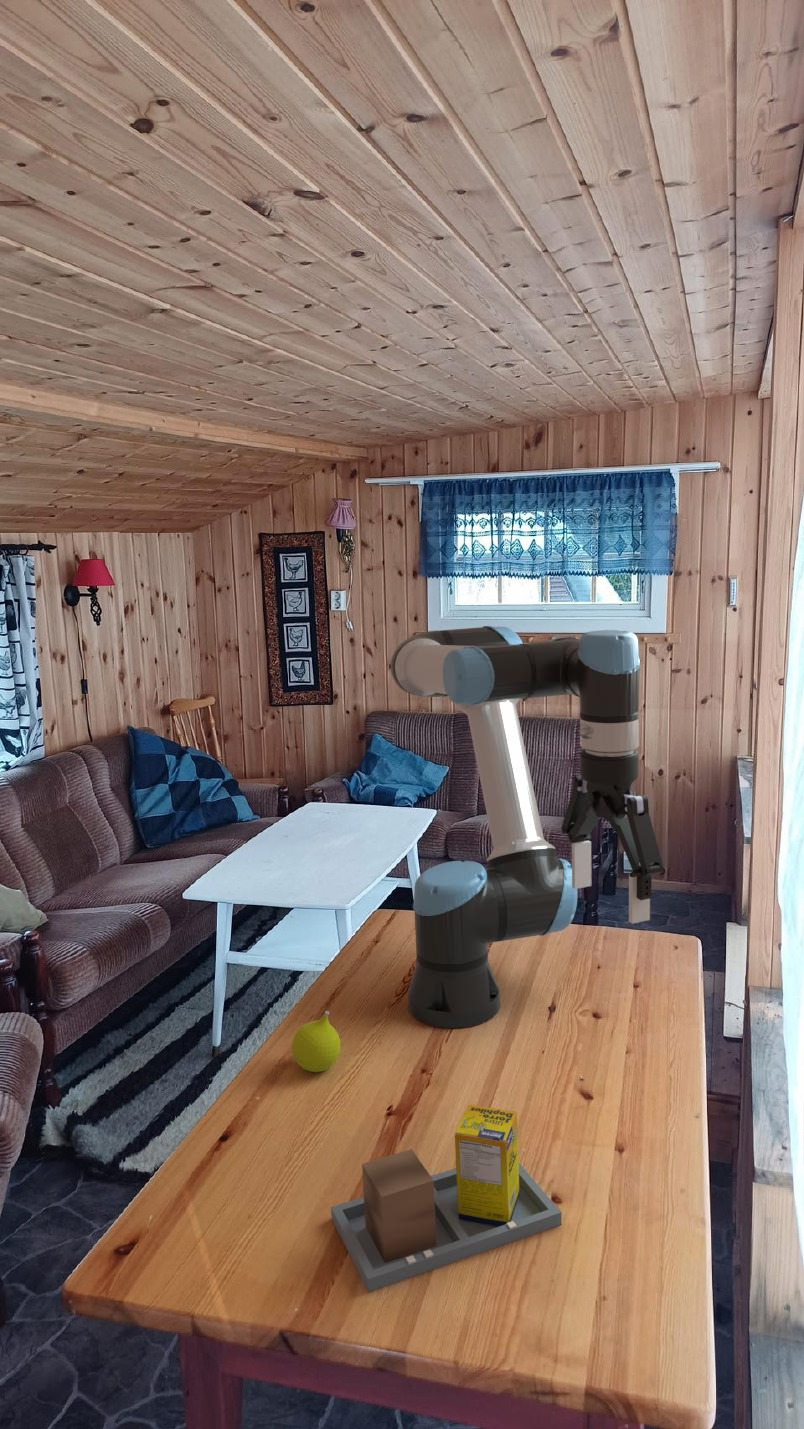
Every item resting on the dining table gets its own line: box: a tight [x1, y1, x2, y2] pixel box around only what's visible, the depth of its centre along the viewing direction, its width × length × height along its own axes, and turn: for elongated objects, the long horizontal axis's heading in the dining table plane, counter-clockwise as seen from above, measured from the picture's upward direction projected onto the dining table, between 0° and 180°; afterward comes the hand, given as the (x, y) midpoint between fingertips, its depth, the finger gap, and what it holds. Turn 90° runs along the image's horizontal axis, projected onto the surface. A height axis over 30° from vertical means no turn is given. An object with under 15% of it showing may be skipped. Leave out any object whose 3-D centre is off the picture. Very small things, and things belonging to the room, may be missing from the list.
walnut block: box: [361, 1149, 436, 1263], centre depth 108 cm, size 6×6×8 cm
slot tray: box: [330, 1162, 562, 1293], centre depth 110 cm, size 12×23×2 cm, turn 112°
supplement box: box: [454, 1103, 520, 1226], centre depth 112 cm, size 6×6×11 cm
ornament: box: [291, 1004, 342, 1073], centre depth 143 cm, size 7×7×10 cm
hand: (609, 903), depth 132 cm, fingers open, 13 cm apart
